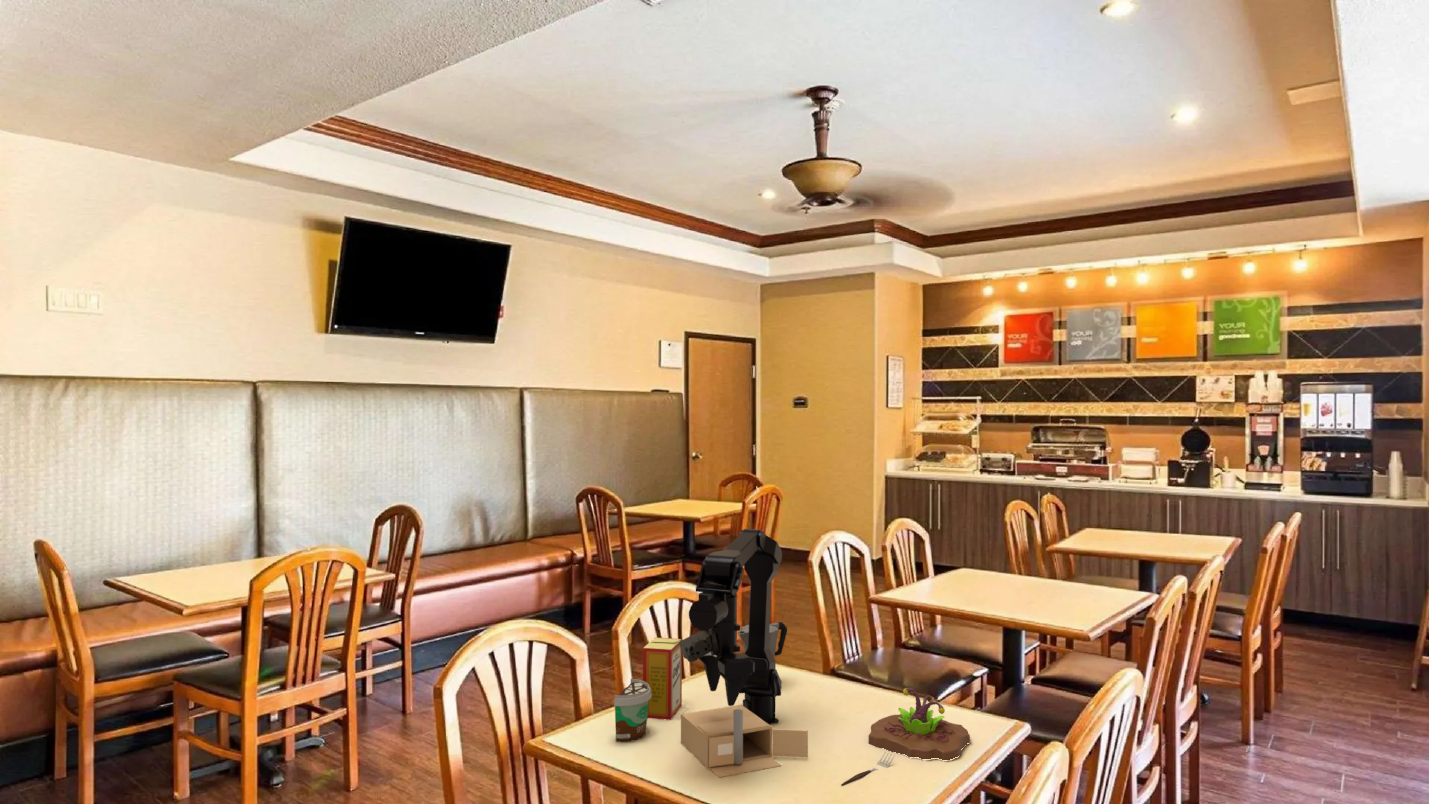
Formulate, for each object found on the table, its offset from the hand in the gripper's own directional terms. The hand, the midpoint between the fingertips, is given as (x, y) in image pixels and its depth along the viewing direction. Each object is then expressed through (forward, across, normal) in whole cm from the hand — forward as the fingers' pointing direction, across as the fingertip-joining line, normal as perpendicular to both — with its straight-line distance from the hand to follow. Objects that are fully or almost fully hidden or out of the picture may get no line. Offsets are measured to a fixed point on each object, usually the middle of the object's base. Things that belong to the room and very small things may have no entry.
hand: (721, 698), depth 166 cm
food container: (+13, -19, -12) cm, 26 cm away
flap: (+12, +3, 0) cm, 12 cm away
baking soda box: (+13, -31, -2) cm, 33 cm away
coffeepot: (+12, -38, +27) cm, 48 cm away
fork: (+13, +15, +24) cm, 31 cm away
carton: (+12, -3, +6) cm, 14 cm away
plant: (+13, +5, +43) cm, 45 cm away
